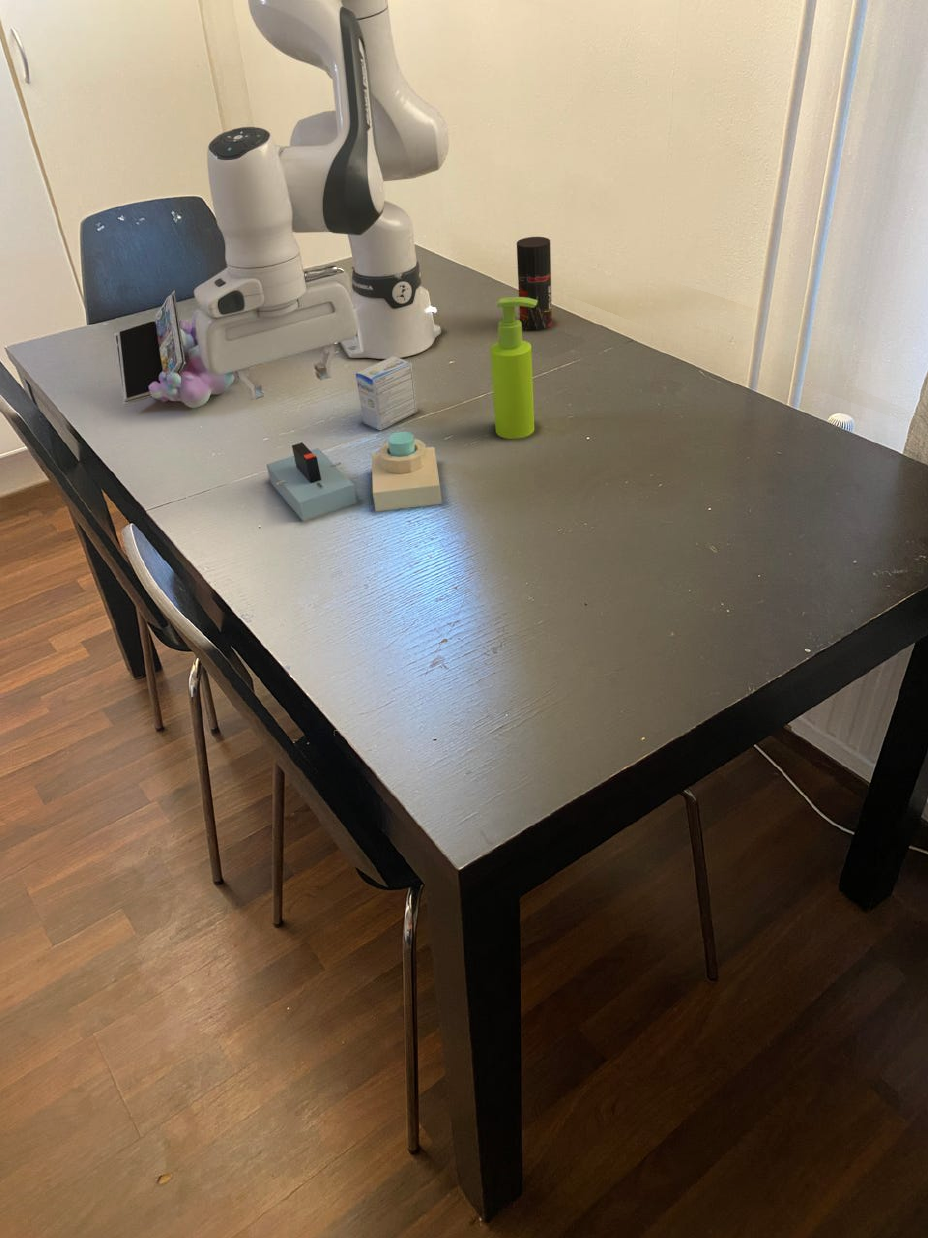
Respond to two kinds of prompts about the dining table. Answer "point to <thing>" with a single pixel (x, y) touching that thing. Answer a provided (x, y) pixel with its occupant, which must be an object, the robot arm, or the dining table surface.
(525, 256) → the deodorant
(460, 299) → the dining table surface
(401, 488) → the beige nut base
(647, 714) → the dining table surface
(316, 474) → the black rectangular block
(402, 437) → the teal short cylinder
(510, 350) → the soap dispenser
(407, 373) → the medicine box
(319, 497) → the switch panel
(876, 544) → the dining table surface
